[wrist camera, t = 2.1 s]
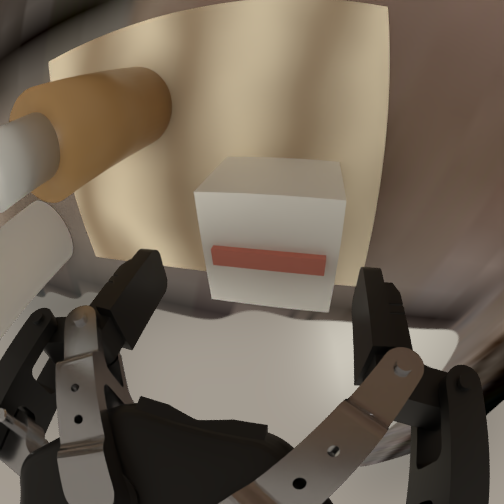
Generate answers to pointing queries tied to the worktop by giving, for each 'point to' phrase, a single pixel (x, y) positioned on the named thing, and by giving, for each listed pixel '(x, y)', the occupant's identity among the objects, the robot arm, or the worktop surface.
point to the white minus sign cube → (272, 230)
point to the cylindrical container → (30, 257)
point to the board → (242, 115)
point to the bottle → (78, 131)
